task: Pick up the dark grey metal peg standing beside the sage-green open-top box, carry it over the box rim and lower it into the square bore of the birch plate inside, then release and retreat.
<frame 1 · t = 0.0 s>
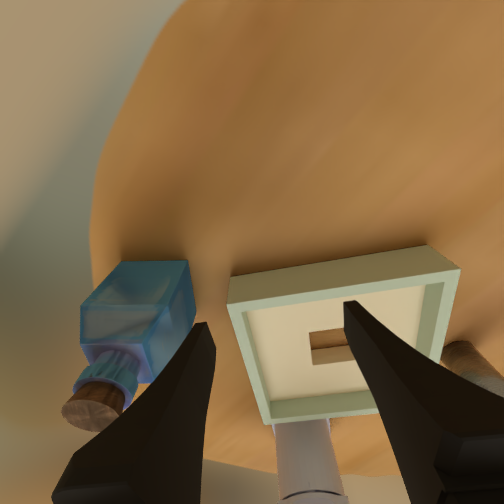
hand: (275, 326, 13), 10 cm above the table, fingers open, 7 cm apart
peg: (455, 352, 29), on the table
perfume bottle: (161, 286, 25), on the table
box: (330, 331, 27), on the table
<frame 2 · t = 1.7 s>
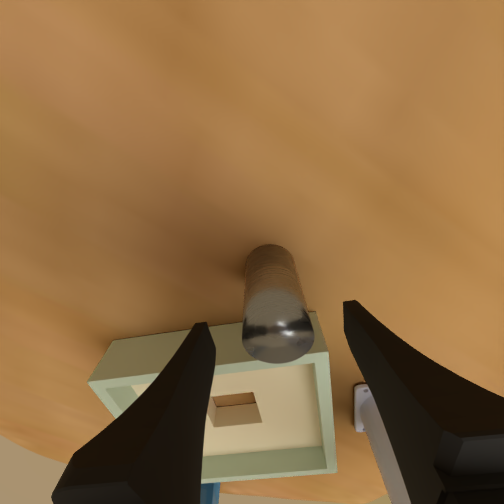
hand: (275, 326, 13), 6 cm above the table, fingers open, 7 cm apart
peg: (270, 266, 19), on the table
perfume bottle: (196, 467, 34), on the table
box: (233, 390, 26), on the table
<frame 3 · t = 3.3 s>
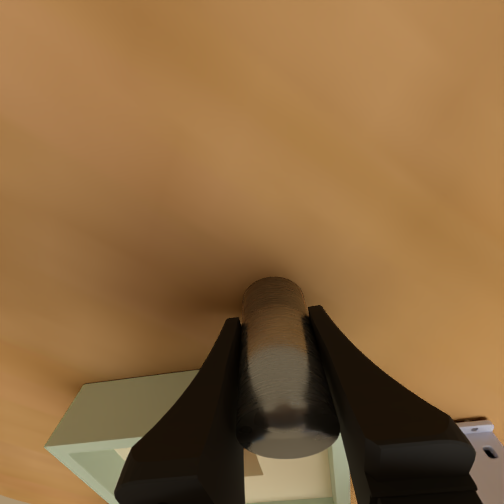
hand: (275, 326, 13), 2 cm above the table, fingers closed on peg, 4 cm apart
peg: (273, 302, 15), on the table, touching gripper
box: (229, 435, 22), on the table
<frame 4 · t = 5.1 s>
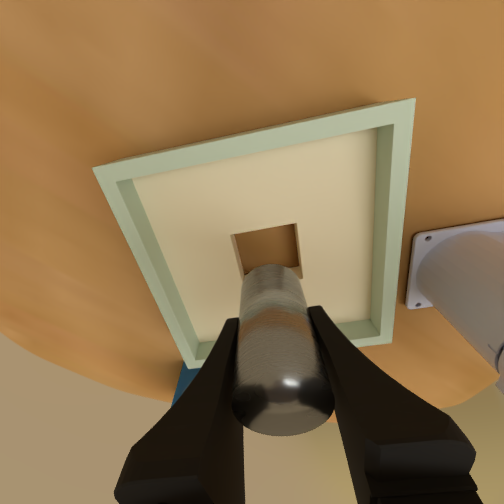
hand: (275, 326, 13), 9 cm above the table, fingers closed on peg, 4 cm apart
peg: (271, 290, 15), point 7 cm above the table, touching gripper
perfume bottle: (214, 375, 30), on the table
box: (267, 246, 21), on the table
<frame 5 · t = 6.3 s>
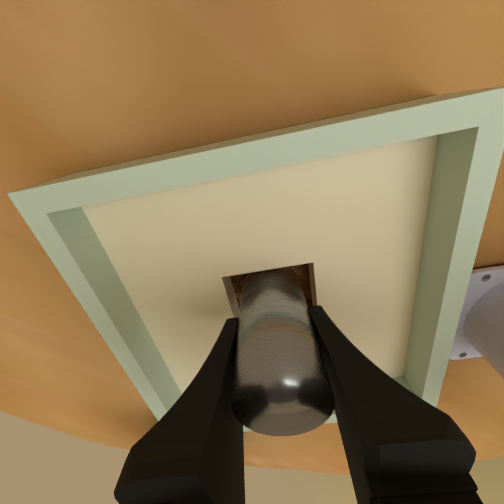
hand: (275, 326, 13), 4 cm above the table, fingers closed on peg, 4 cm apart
peg: (271, 290, 15), point 1 cm above the table, touching gripper
box: (271, 285, 16), on the table
when the fingers open (3 cm above the table, at t = 7.2 s): peg stays where it is, resting in box.
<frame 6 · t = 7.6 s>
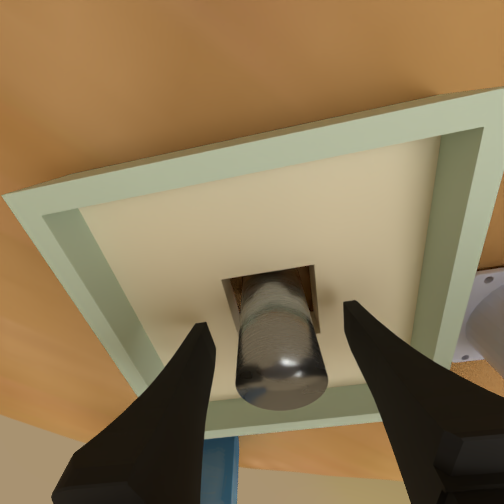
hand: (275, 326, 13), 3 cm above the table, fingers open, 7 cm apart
peg: (270, 280, 16), resting in box
perfume bottle: (206, 429, 25), on the table
box: (271, 287, 16), on the table
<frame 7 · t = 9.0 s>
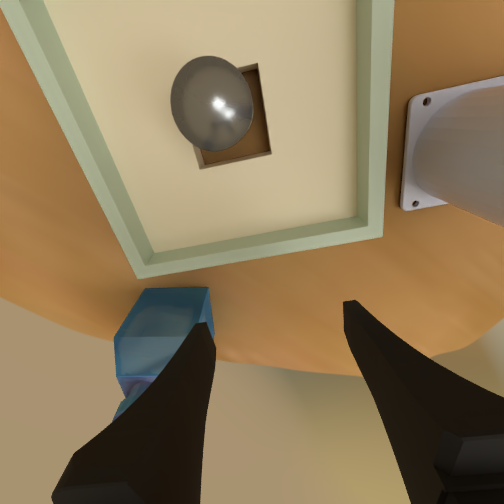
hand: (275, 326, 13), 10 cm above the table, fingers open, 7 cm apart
peg: (227, 112, 17), resting in box
perfume bottle: (182, 310, 26), on the table
box: (228, 120, 17), on the table
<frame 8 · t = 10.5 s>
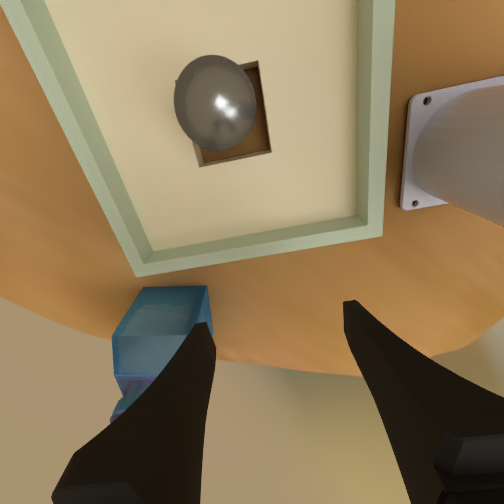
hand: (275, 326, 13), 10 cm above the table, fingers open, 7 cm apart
peg: (227, 109, 17), resting in box
perfume bottle: (180, 309, 26), on the table
box: (228, 118, 17), on the table
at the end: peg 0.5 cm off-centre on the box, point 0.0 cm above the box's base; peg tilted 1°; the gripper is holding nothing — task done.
